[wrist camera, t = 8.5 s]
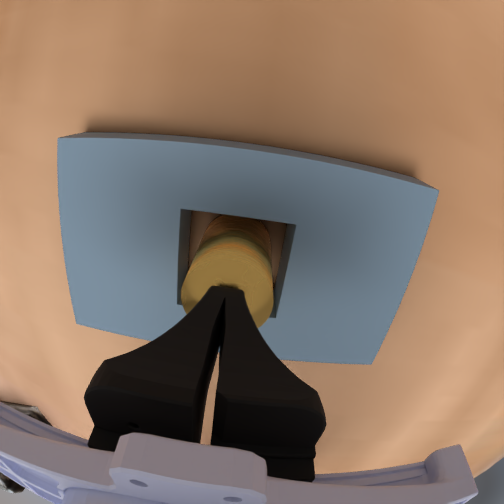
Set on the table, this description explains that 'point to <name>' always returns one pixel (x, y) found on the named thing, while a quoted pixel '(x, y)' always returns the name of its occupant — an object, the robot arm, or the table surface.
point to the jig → (245, 205)
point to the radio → (32, 411)
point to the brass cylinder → (233, 264)
